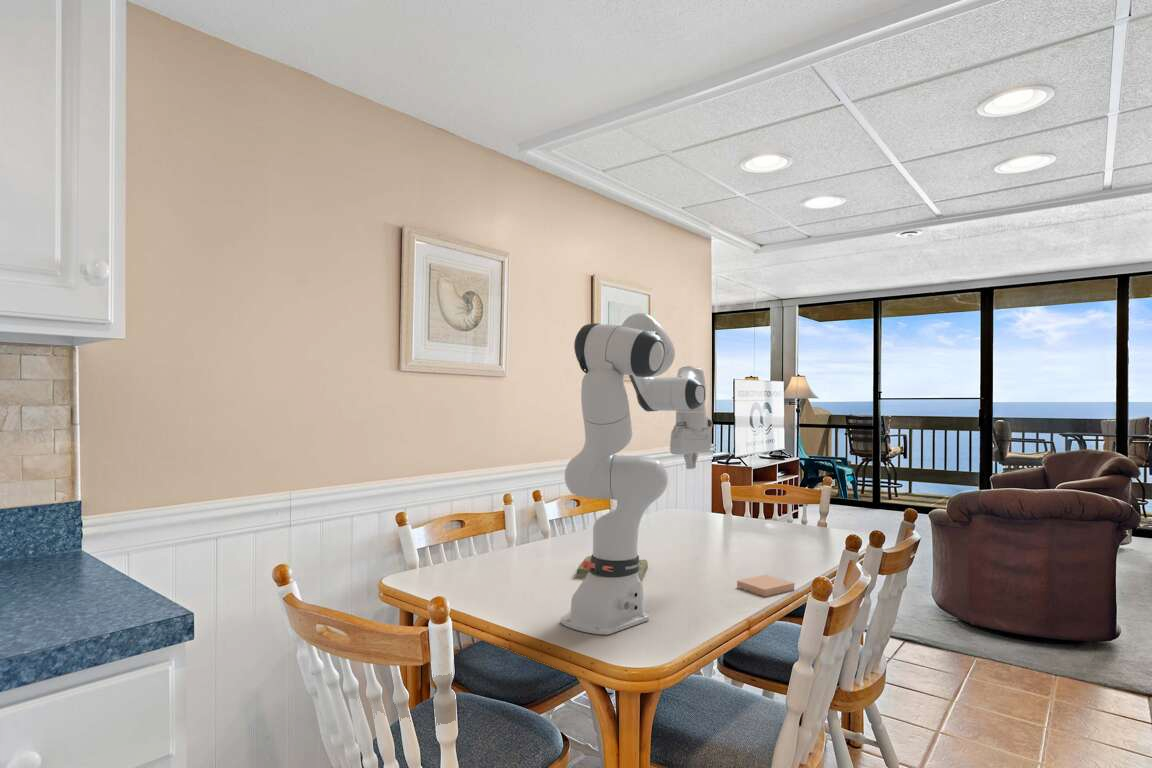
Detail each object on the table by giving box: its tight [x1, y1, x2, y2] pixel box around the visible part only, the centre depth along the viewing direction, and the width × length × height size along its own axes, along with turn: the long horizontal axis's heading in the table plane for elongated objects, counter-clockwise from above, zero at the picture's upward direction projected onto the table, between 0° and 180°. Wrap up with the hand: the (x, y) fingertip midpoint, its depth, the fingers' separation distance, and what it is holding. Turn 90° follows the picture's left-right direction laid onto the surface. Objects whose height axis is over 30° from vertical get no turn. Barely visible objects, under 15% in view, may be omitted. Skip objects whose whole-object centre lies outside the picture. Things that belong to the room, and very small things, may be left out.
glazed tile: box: [736, 574, 795, 597], centre depth 178 cm, size 12×2×10 cm
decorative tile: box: [575, 555, 649, 583], centre depth 193 cm, size 19×20×4 cm
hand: (690, 468), depth 187 cm, fingers closed
